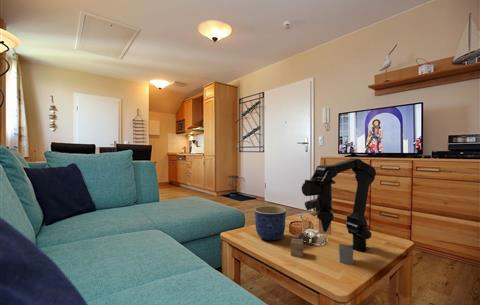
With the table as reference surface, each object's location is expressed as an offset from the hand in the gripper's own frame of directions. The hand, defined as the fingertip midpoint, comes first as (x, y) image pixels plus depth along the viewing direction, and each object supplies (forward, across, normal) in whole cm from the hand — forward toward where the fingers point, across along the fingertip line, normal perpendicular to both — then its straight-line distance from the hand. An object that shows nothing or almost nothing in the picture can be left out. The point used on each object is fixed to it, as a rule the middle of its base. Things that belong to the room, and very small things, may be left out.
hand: (324, 229), depth 100 cm
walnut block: (+12, +1, -12) cm, 17 cm away
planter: (+12, -14, -28) cm, 33 cm away
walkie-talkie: (+13, -16, -10) cm, 23 cm away
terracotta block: (+1, 0, 0) cm, 1 cm away
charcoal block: (+12, +1, +8) cm, 15 cm away
